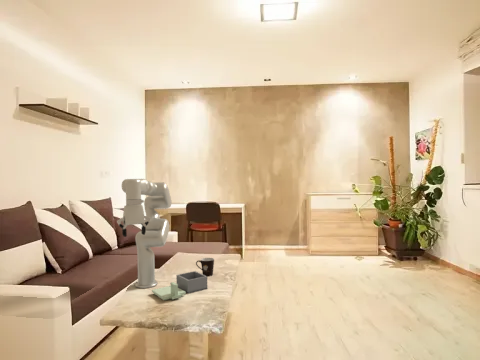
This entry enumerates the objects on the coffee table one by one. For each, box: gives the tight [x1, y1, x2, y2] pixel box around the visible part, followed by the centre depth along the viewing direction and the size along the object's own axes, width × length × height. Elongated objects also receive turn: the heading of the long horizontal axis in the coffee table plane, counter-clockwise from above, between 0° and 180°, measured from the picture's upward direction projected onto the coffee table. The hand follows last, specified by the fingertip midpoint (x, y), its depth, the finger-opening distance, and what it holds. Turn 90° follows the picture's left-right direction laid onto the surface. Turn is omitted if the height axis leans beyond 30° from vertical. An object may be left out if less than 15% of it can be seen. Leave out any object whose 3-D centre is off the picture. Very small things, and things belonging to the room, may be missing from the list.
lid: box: [151, 281, 187, 301], centre depth 173 cm, size 17×13×8 cm
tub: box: [175, 270, 208, 295], centre depth 185 cm, size 14×12×7 cm
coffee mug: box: [195, 257, 215, 277], centre depth 211 cm, size 12×9×10 cm
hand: (134, 235), depth 172 cm, fingers open, 9 cm apart
